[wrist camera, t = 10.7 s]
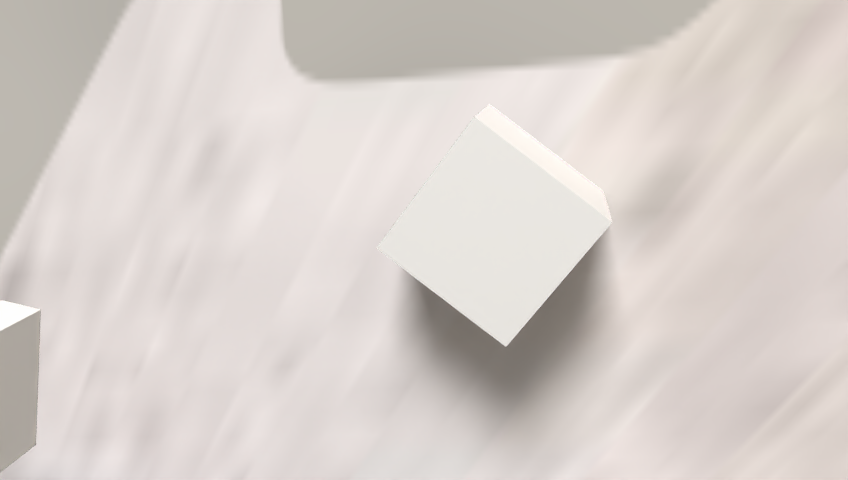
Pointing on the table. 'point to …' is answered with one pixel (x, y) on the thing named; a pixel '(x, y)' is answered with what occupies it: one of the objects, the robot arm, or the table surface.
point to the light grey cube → (497, 225)
